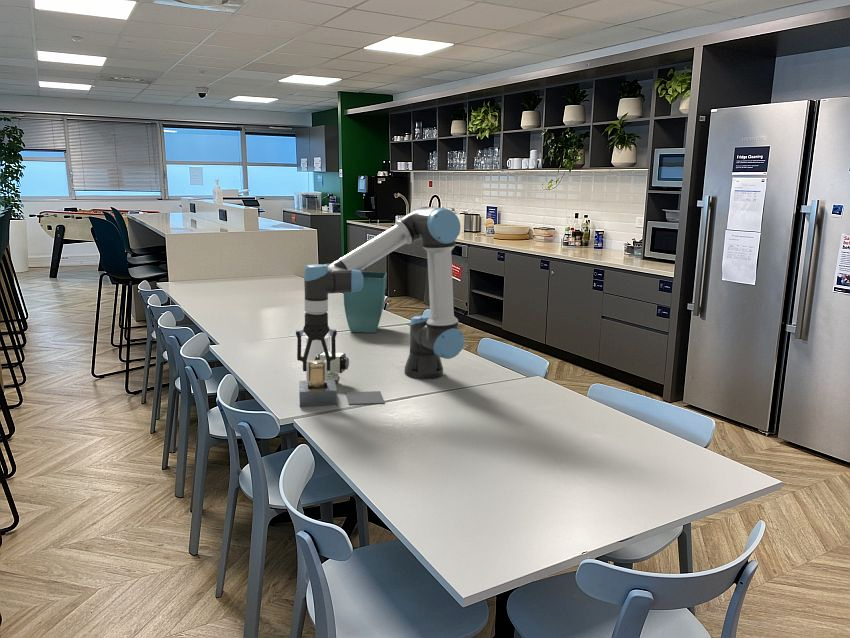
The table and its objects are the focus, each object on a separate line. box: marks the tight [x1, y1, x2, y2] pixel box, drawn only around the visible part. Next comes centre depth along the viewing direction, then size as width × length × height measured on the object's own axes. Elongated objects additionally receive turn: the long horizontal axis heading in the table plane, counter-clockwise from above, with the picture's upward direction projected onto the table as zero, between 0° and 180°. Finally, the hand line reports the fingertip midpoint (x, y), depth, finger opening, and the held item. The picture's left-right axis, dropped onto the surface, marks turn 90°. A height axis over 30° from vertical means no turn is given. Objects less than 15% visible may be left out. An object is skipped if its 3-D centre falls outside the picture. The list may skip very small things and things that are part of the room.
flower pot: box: [342, 270, 388, 334], centre depth 314 cm, size 20×20×28 cm
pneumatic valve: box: [315, 350, 350, 384], centre depth 231 cm, size 6×12×12 cm, turn 78°
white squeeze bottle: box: [304, 332, 331, 361], centre depth 253 cm, size 10×9×20 cm
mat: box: [345, 390, 386, 406], centre depth 216 cm, size 12×12×1 cm
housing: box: [298, 380, 338, 408], centre depth 212 cm, size 12×12×5 cm
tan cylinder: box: [309, 360, 324, 389], centre depth 211 cm, size 5×5×12 cm
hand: (316, 379), depth 211 cm, fingers closed on tan cylinder, 5 cm apart
